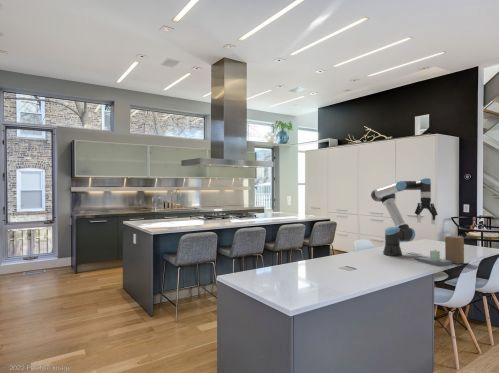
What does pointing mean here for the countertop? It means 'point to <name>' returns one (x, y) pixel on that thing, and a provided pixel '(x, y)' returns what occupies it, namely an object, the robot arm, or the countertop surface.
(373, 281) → the countertop surface
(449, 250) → the block
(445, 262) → the plate
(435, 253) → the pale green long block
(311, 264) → the countertop surface
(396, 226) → the robot arm
